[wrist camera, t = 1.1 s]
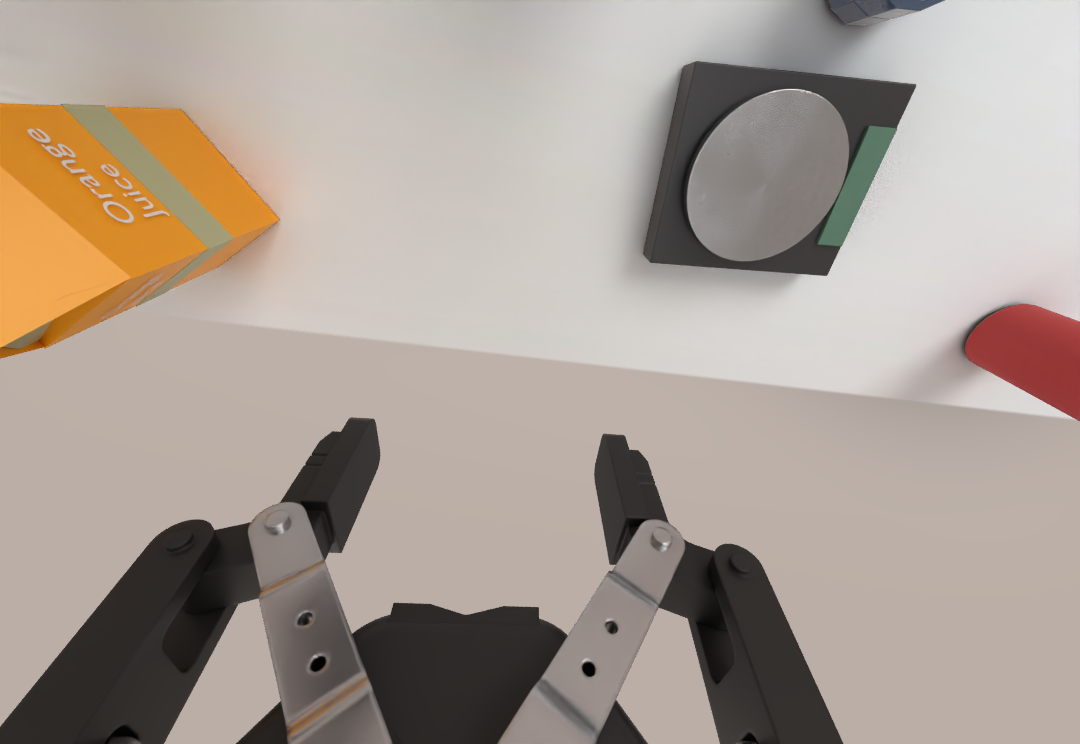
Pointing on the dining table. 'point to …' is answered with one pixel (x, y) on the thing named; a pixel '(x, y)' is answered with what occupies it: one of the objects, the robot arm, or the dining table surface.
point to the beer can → (1031, 353)
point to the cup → (876, 9)
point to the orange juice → (108, 214)
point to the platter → (766, 174)
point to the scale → (717, 91)
